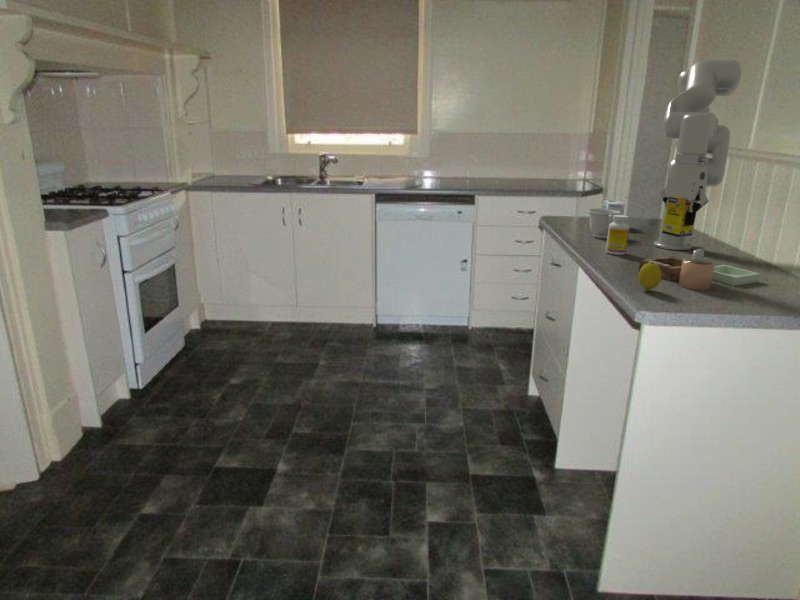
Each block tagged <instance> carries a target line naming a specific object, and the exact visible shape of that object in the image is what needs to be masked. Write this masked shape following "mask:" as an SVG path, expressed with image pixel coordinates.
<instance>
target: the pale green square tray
mask: <svg viewBox="0 0 800 600" xmlns="http://www.w3.org/2000/svg"><path fill="white" fill-rule="evenodd" d="M760 277H761V273H759V272H754V271H750V270H749V269H743V268H739V267H735V266H731V265H727V264H721V265H720V264H719V265H715V267H714V272H713V277H712V281H713V282H716V283H720V284H725V285H728V286H732V287H737V286H744V285H748V284H749V285H750V284H754V283H755V284H756V283H759V282H760Z"/></svg>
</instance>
